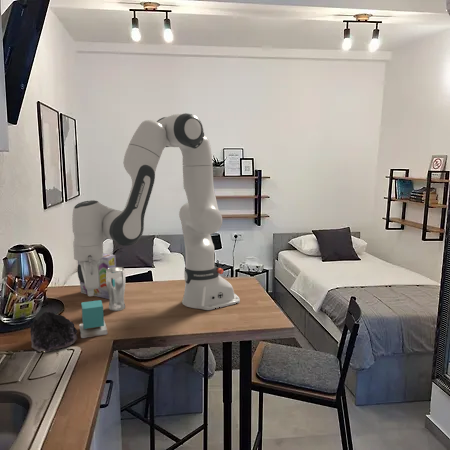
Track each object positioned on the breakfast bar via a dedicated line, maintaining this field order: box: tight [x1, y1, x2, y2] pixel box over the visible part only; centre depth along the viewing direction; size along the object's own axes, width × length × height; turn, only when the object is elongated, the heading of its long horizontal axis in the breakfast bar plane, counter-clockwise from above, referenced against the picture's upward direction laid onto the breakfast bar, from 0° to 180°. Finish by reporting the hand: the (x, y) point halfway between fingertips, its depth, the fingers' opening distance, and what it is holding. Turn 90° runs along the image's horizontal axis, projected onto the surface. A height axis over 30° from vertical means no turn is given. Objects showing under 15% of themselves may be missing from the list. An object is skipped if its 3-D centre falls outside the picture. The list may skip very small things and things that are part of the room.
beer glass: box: [106, 266, 126, 312], centre depth 152 cm, size 7×7×15 cm
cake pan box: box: [76, 252, 117, 300], centre depth 166 cm, size 19×5×18 cm, turn 58°
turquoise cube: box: [80, 299, 105, 329], centre depth 132 cm, size 6×6×7 cm
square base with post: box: [79, 320, 108, 339], centre depth 132 cm, size 8×8×8 cm
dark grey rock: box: [29, 311, 78, 353], centre depth 124 cm, size 13×14×10 cm
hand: (90, 294), depth 131 cm, fingers closed
